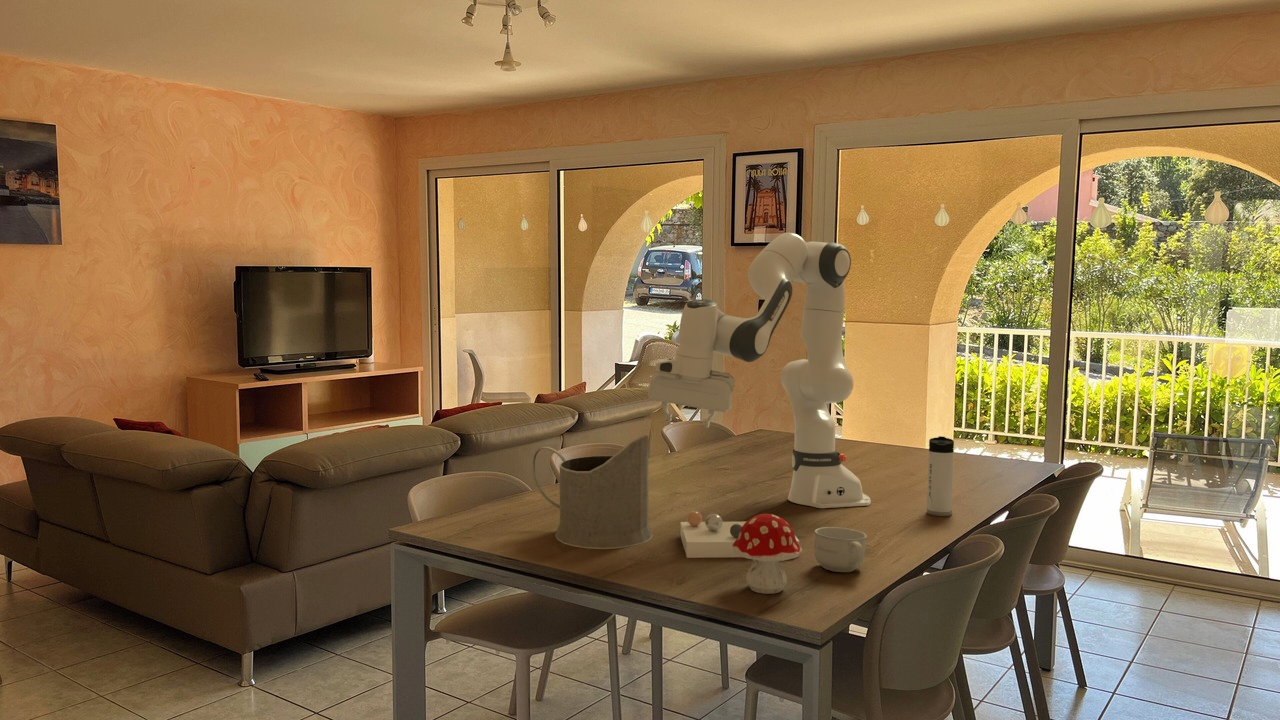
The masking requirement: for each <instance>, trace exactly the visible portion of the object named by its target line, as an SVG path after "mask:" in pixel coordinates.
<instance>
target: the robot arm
mask: <svg viewBox="0 0 1280 720" xmlns="http://www.w3.org/2000/svg"><path fill="white" fill-rule="evenodd" d="M851 265H852V258H851V254H850V253H849V251H848V249H847V247H846V246H844V245H842V244H840V243H837V242H823V241H808V242H806V241H805V239H804V238H803V237H802V236H800V235H799V234H797V233H794V232H784V233H781V234H780V235H778V236H777V237H775V238H774V239H772V241H770V242H769V243H768V244H767V245H766V246H765V247H764V248H763V249H762V250H761V251H759V253H758V254H757V255H756V256H755V258H754V259H753V261H751V263H750V266H749V267H748V270H747V277H748V278H747V279H748V282H749V284H750V286H751V288H752V290H753V291H754V292H755V294H757V295H758V296H759V297H760V298H762V299H764V302H763V304H762V305H761V307H760V308H759V309H758V312H757V314H756V315H755V316H753V317H748V318H747V317H746V318H745V317H739V316H734V315H730V314H726V313H725V312H722V311H721V310H720V309H719V308H718V306H717V305H718V304H717V302H716V301H713V300H710V299H691V300H689V301H687V302H686V303H685V305H684V308H683V310H682V313H681V317H680V323H679V329H678V339H679V340H678V341H679V344H678V348H677V350H676V355H675V357H674V358H673V357H671V358H667V359H663V360H659V361H658V362H656V363H655V372H654V373H653V374H652V375H651V378H650V381H649V386H648V391H647V396H648V398H649V400H651V401H655V402H661V405H660V406H661V409H662V412H663V413H664V418H663V419H664V421H666V422H671V421H672V420H673V413H672V412H670V411H669V409H668V406H670V404H674V405H678V406H679V405H680V406H684V407H685V406H686V407H692V408H698V409H702V410H708V412H707V414H708V415H709V416H708V417H707V418H704V419H703V420H702V424H701V427H702V428H705V429H709V428H710V424H711V420H712V419H713V418H714V417H715V415H716V414H717V412H720V413H727V412H729V411H730V410H731V409H732V406H733V405H732V404H733V391H734V390H735V384H736V379H735V378H734V376H732V375H731V373H730V372H729V373H728V372H722V371H719V370H718V371H716V370H713V363H714V361H713V360H714V353H716V354H720V355H724V356H727V357H731V358H732V357H733V358H736V359H737V360H741V361H744V362H746V363H747V362H748V363H752V362H755V361H758V359H760V358H761V357H762V356H764V355H765V354H766V352H767V350H768V347H769V345H770V341H771V338H772V336H773V333H774V331H775V330H776V328H777V326H778V325H779V322H780V321H781V319H782V317H783V315H784V314H785V312H786V310H787V308H788V306H789V304H790V301H791V299H792V296H793V285H792V282H795V283H799V284H800V283H801V284H806V285H807V289H806V292H805V297H804V303H803V309H802V311H803V312H802V320H801V327H800V328H801V329H800V339H801V340H802V342H803V344H804V345H805V349H806V352H807V358H803V359H802V358H801V359H796V360H794V361H789V362H787V364H785V365H784V367H783V368H782V370H781V373H780V382H781V386H782V388H783V390H785V392H786V394H787V396H788V399H789V403H790V407H791V410H792V417H793V421H794V425H793V426H794V448H793V450H792V455H791V457H792V458H791V466H792V469H793V471H792V478H791V484H790V490H789V493H788V496H787V500H788V501H790V502H791V503H795V504H798V505H803V506H809V507H813V508H818V509H827V508H828V509H829V508H830V509H831V508H845V507H846V508H847V507H864V506H870V505H871V503H872V502H871V501H872V500H871V498H870V497H869V495H867V494H865V493H864V491H863V487H862V483H861V480H860V478H859V477H858V476H856V475H855V474H854V473H853V472H852V471H851V470H849V469H848V468H847V467H846V466H845V465H843V464H842V463H844V462H846V461H848V457H847V455H845V454H844V453H841V452H839V451H837V449H836V423H835V420H834V418H833V417H832V416H831V414H830V412H829V409H828V406H827V404H833V403H834V404H835V403H841V402H843V401H845V400H847V399H848V398H849V397H850V396H851V394H852V392H853V389H854V378H853V375H852V373H851V372H850V370H849V369H848V367H847V364H846V361H845V356H844V350H843V343H842V342H843V340H842V339H843V325H844V317H845V307H846V291H845V290H846V288H845V280H846V278H847V277H848V275H849V272H850V270H851Z"/></svg>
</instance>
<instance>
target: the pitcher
mask: <svg viewBox="0 0 1280 720" xmlns="http://www.w3.org/2000/svg"><path fill="white" fill-rule="evenodd" d="M649 437H650V436H649V435H648V434H643V435H641V436H638V437H636V438H635V439H633V440H630V442H629V443H627V444H626V445H625V446H624V447H622V448H621V449H620V450H619V451H618V452H616V453H615V454H614V455H591V456H580V457H574V458H569V459H566V458H565V456H564V455H563V454H562V453H561V452H559V451H558V450H557V449H555V448H552V447H550V446H542V447H538V448H537V449H536V450H535V451H534V453H533V456H532V461H531V472H532V473H531V474H532V481H533V483H534V486H535V487H536V489H537V490H538V492H539V493H540V495H541V496H542V497H543V498H544V500H546V502H548V503H550V504H551V505H552V506H554V507H555V508H557V509H559V524H558V528H557V530H556V533H555V534H554V535H555V538H556V540H558V541H559V542H561V543H562V544H565V545H567V546H571V547H575V548H581V549H582V548H583V549H593V550H594V549H595V550H597V549H598V550H609V549H612V550H613V549H623V548H624V549H625V548H630V547H635V546H638V545H642V544H644V543H646V542H649V541H650V540H652V537H653V535H654V534H653V531H652V528H651V527H650V524H649V455H650V454H649V449H650V448H649V447H650V446H649V443H650V441H649ZM541 450H548V451H551V452H553V453H555V454H556V455H557V456H558V457H559V458H560V459H561V461H562V462H561V463H559V504H558V503H556V502H555V501H553V500H552V499H551V498H550V497H548V496H547V495H546V493H545V492H544V491H543V489H542V488H541V487H540V485H539V483H538V480H537V475H536V458H537V455H538V453H539V452H540V451H541Z"/></svg>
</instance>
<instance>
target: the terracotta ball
mask: <svg viewBox="0 0 1280 720" xmlns="http://www.w3.org/2000/svg"><path fill="white" fill-rule="evenodd" d="M686 518H687V519H686V520H687V521H686V522H688V523H689V524H690V525H692V526H698V525H699V524H700V523H701V522H703V516H702V514H701V513H700V512H699V511H696V510H692V511H690V512H689V513H688V515H687V517H686Z"/></svg>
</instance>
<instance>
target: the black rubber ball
mask: <svg viewBox="0 0 1280 720" xmlns="http://www.w3.org/2000/svg"><path fill="white" fill-rule="evenodd" d="M741 527H742V526H741V525H739V524H734V525H732V526H731V528H730V533H731V535H732V536H733V537H735V538H738V536H739V533H740V530H741Z"/></svg>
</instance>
